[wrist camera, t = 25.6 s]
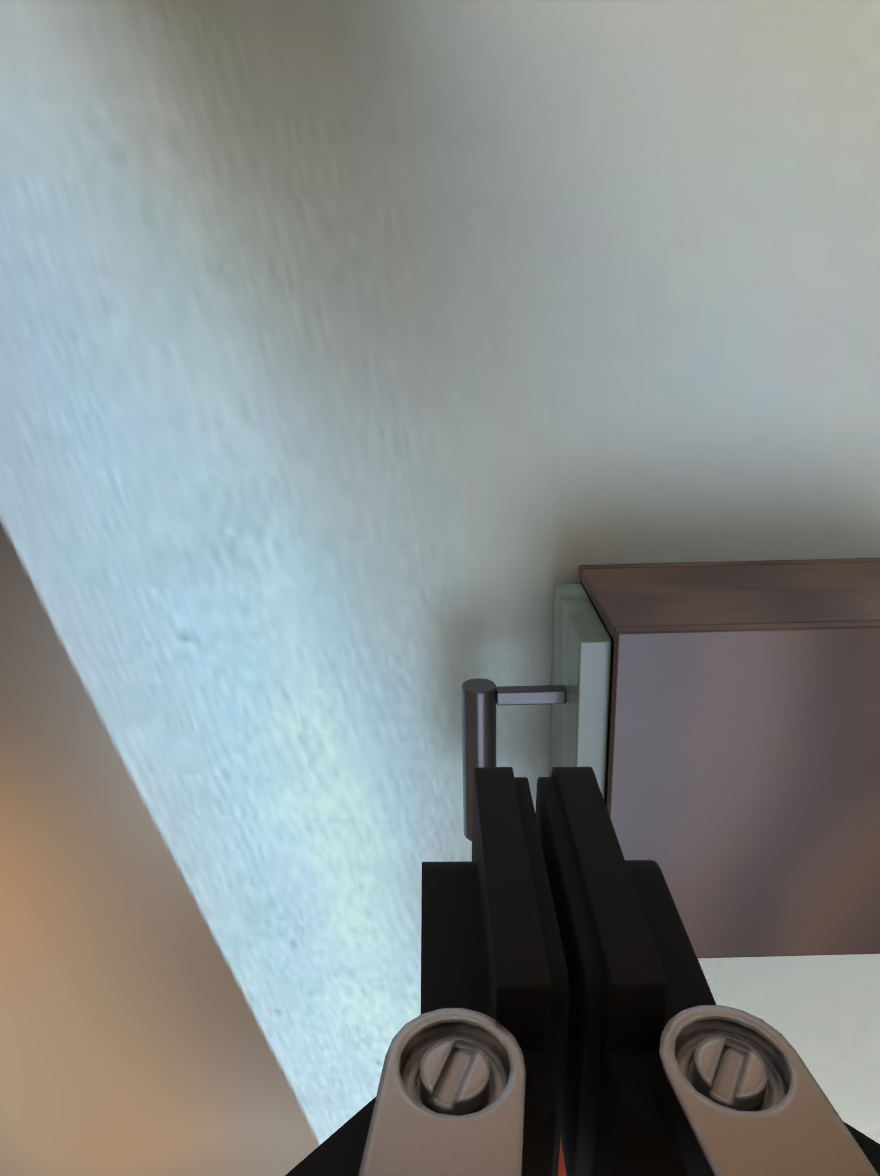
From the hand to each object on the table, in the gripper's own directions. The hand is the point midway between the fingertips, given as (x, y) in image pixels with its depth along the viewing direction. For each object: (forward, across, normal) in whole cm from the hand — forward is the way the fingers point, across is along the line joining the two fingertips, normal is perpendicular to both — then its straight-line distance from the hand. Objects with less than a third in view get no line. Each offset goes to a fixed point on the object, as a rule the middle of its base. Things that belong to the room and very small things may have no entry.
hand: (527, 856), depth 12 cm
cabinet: (+25, -13, +11) cm, 30 cm away
